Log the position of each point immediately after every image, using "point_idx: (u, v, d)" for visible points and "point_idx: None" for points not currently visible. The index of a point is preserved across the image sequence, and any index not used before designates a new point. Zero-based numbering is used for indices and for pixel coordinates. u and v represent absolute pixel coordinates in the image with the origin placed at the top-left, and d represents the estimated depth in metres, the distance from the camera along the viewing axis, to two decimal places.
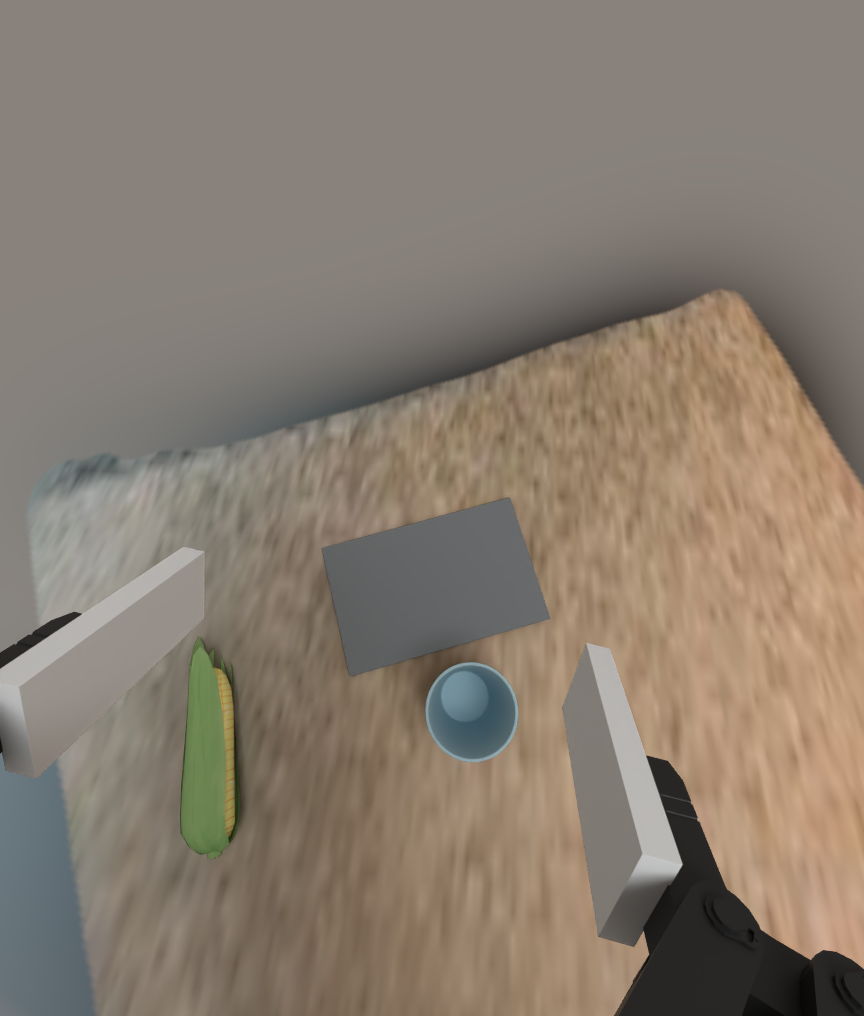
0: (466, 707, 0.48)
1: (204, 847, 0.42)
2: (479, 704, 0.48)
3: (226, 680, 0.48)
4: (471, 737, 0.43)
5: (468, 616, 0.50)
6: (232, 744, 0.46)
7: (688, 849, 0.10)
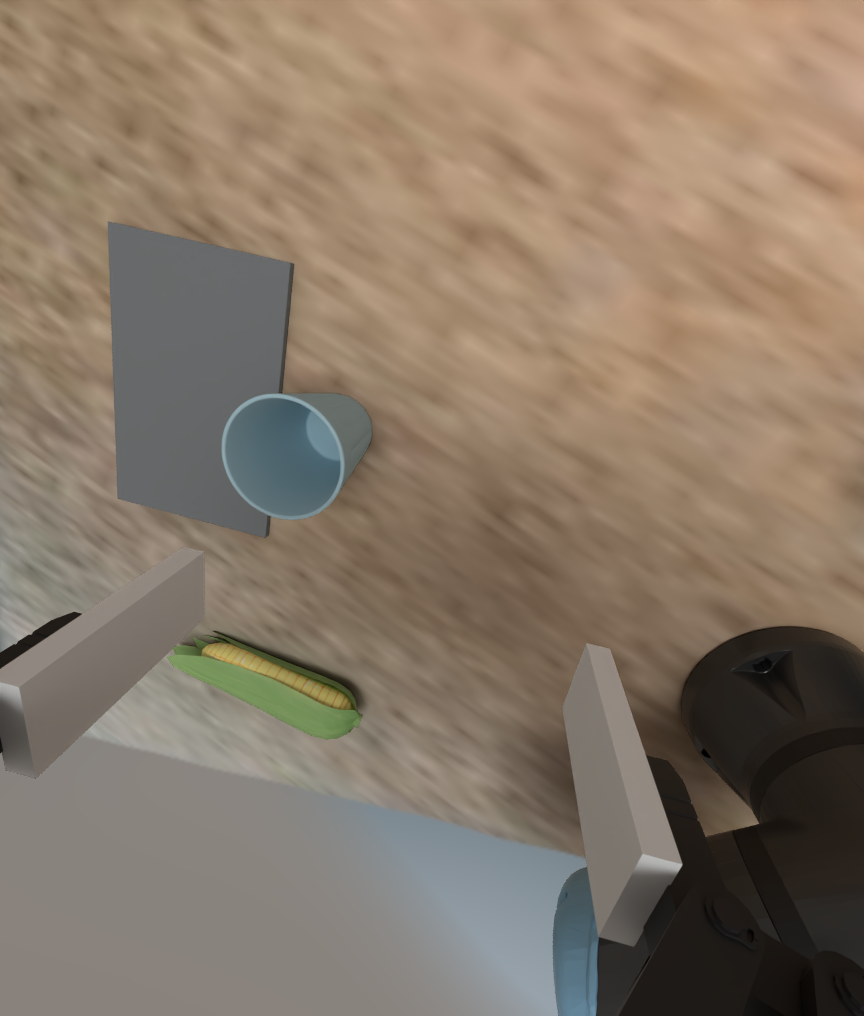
0: None
1: (341, 729, 0.43)
2: None
3: (217, 646, 0.45)
4: None
5: (248, 374, 0.36)
6: (276, 668, 0.44)
7: (688, 849, 0.10)
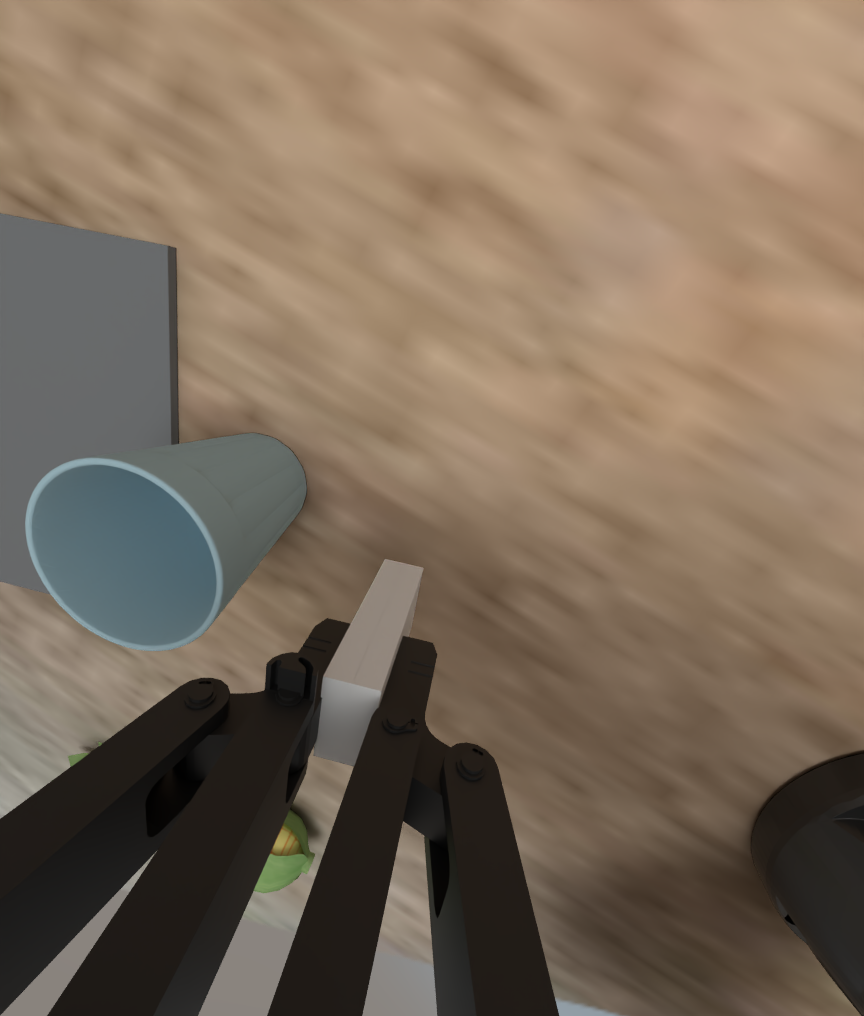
0: None
1: (284, 880, 0.32)
2: None
3: None
4: None
5: (127, 408, 0.26)
6: None
7: (409, 692, 0.12)
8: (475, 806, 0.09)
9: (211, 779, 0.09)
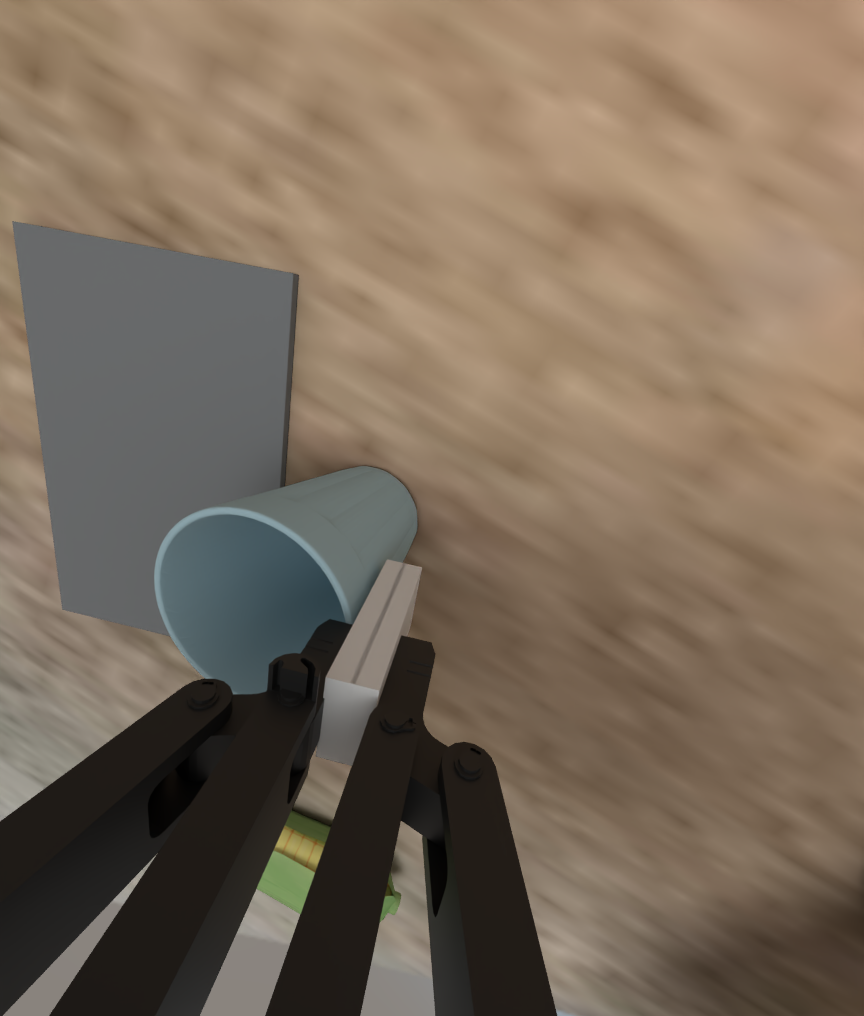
0: None
1: None
2: None
3: None
4: None
5: (235, 440, 0.25)
6: (286, 832, 0.32)
7: (407, 692, 0.12)
8: (473, 805, 0.09)
9: (213, 779, 0.09)
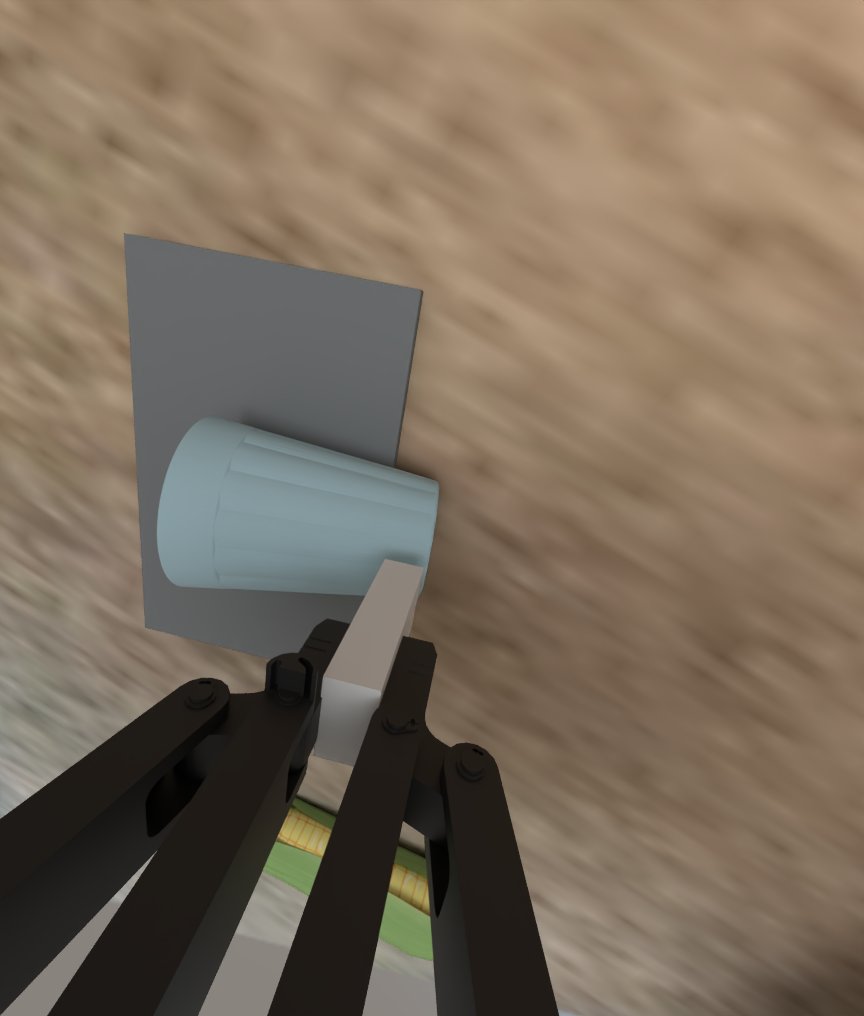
0: None
1: None
2: None
3: None
4: None
5: None
6: None
7: (409, 692, 0.12)
8: (475, 806, 0.09)
9: (211, 779, 0.09)
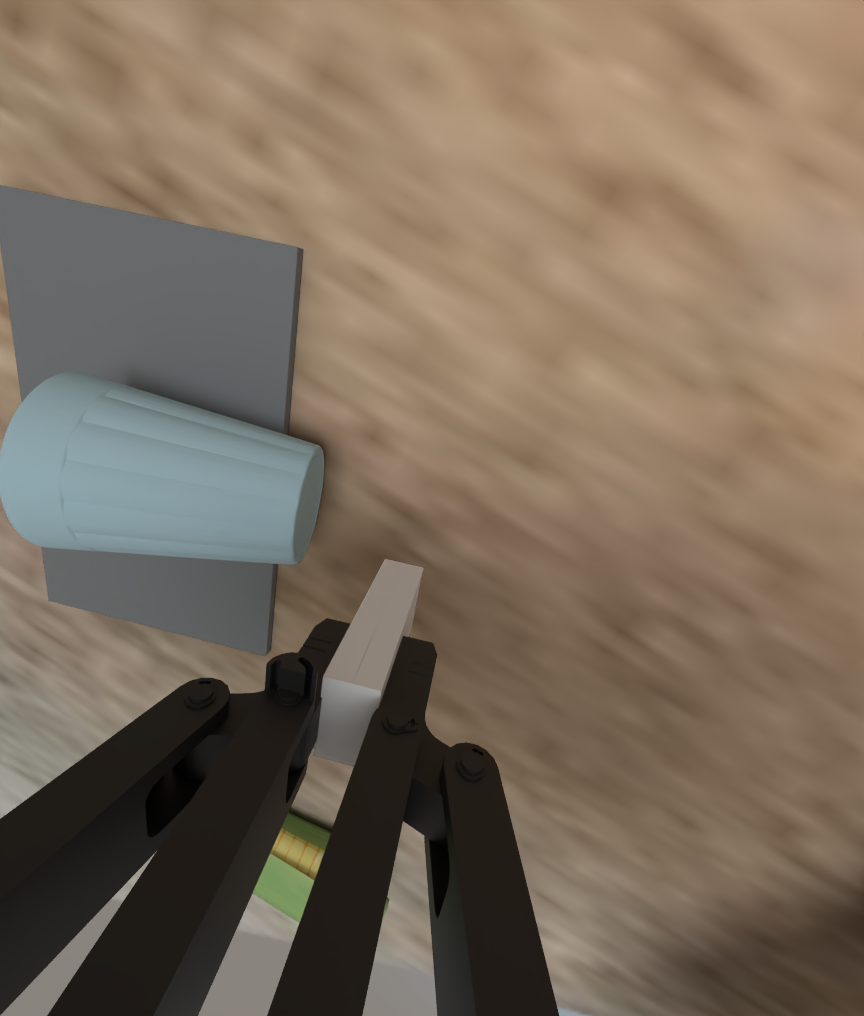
0: None
1: None
2: None
3: None
4: None
5: None
6: None
7: (409, 692, 0.12)
8: (475, 806, 0.09)
9: (211, 779, 0.09)
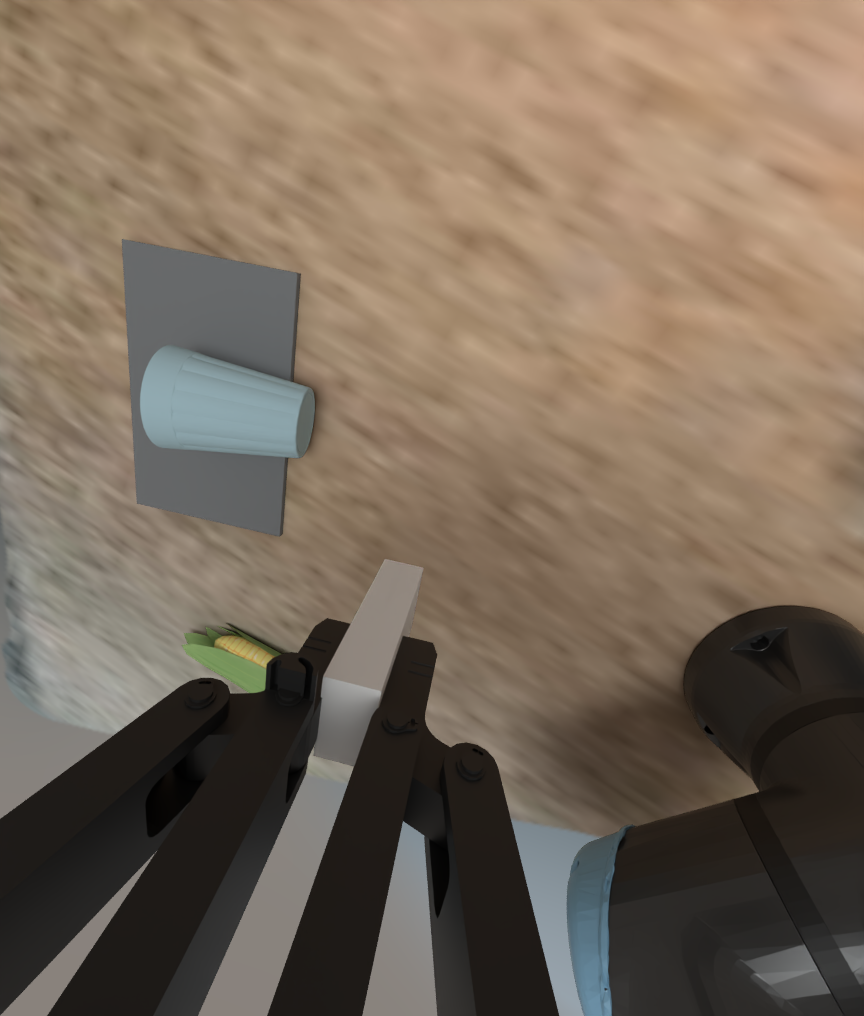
0: None
1: None
2: None
3: (231, 639, 0.46)
4: None
5: None
6: None
7: (409, 692, 0.12)
8: (475, 806, 0.09)
9: (211, 779, 0.09)
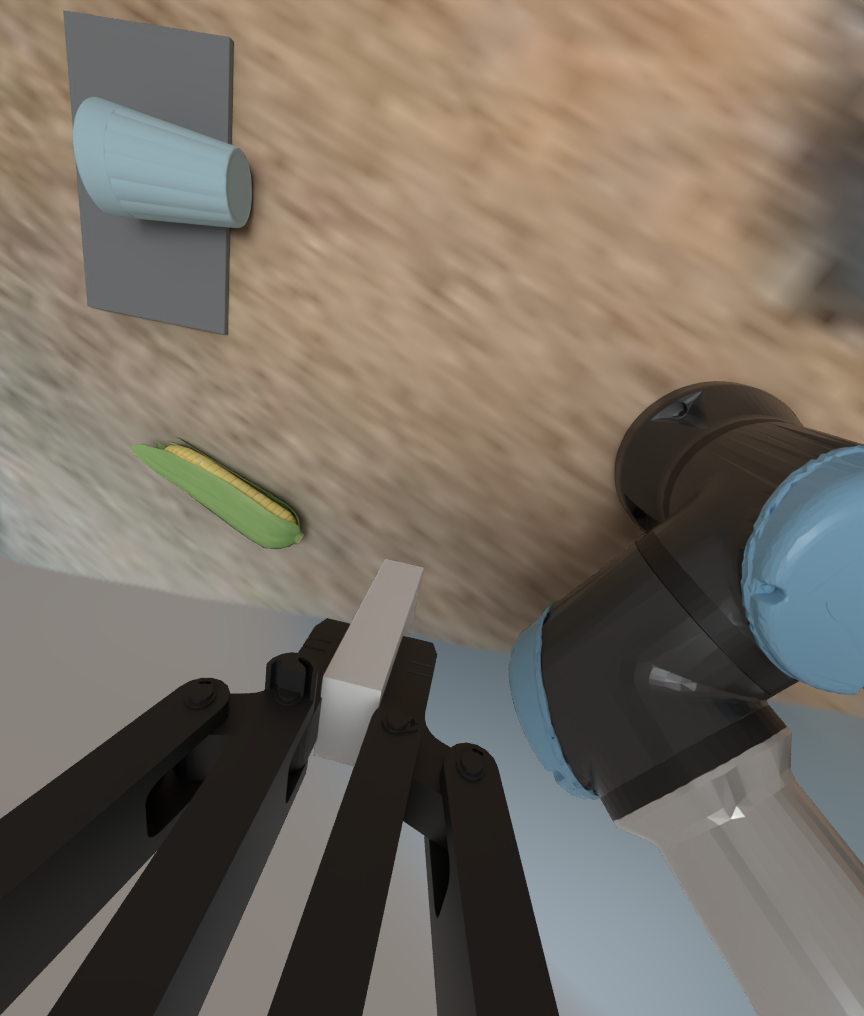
0: None
1: (283, 539, 0.48)
2: None
3: (180, 447, 0.48)
4: None
5: None
6: (232, 476, 0.48)
7: (409, 692, 0.12)
8: (475, 806, 0.09)
9: (211, 779, 0.09)
